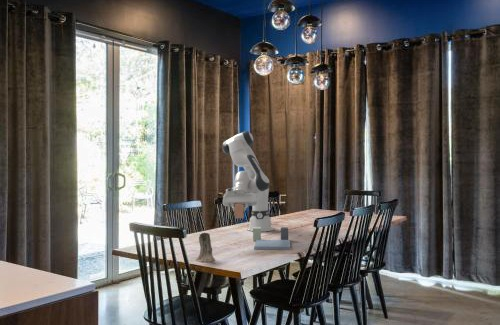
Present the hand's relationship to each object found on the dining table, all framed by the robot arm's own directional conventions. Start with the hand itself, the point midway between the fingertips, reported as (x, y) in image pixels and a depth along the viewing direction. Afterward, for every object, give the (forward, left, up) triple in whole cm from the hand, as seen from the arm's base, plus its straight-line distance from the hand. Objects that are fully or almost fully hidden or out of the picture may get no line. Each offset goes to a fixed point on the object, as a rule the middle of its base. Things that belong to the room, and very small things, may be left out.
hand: (239, 210), depth 254 cm
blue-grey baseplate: (-3, +19, -21) cm, 28 cm away
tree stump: (+32, -14, -21) cm, 41 cm away
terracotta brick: (0, 0, -4) cm, 4 cm away
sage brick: (-18, +9, -21) cm, 29 cm away
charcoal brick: (-18, +26, -21) cm, 38 cm away
